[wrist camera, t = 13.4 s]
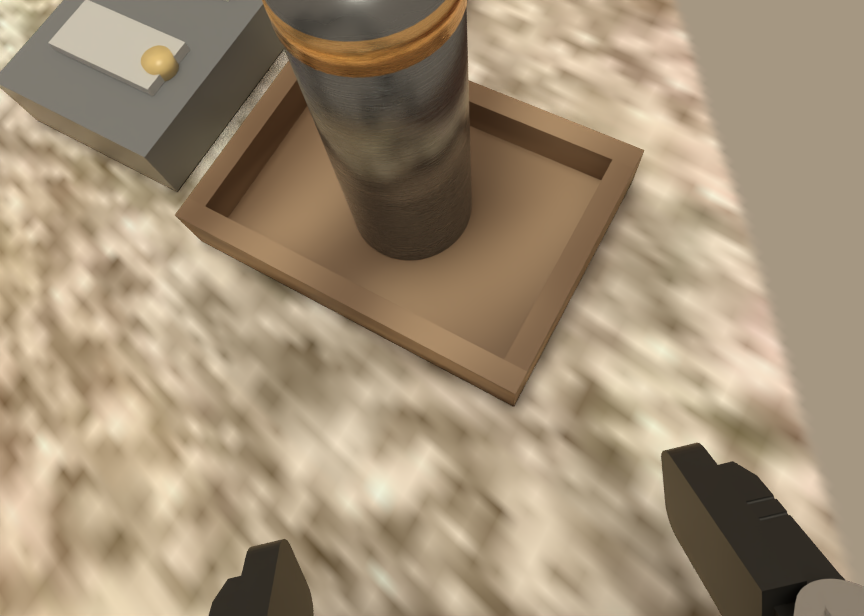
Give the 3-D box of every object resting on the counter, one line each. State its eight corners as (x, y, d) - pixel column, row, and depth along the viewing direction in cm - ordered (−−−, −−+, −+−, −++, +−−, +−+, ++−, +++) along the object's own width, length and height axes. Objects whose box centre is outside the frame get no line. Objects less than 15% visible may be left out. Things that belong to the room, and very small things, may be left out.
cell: (330, 229, 23) (195, -39, 12) (390, 136, 25) (317, -185, 14) (436, 281, 22) (393, 41, 11) (494, 181, 24) (506, -125, 13)
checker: (35, 119, 27) (-20, 70, 25) (184, -58, 30) (150, -121, 27) (177, 191, 25) (135, 147, 23) (322, -5, 28) (302, -66, 25)
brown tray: (200, 240, 25) (175, 215, 23) (331, 57, 27) (318, 20, 25) (513, 406, 21) (515, 394, 19) (631, 181, 24) (644, 150, 22)
